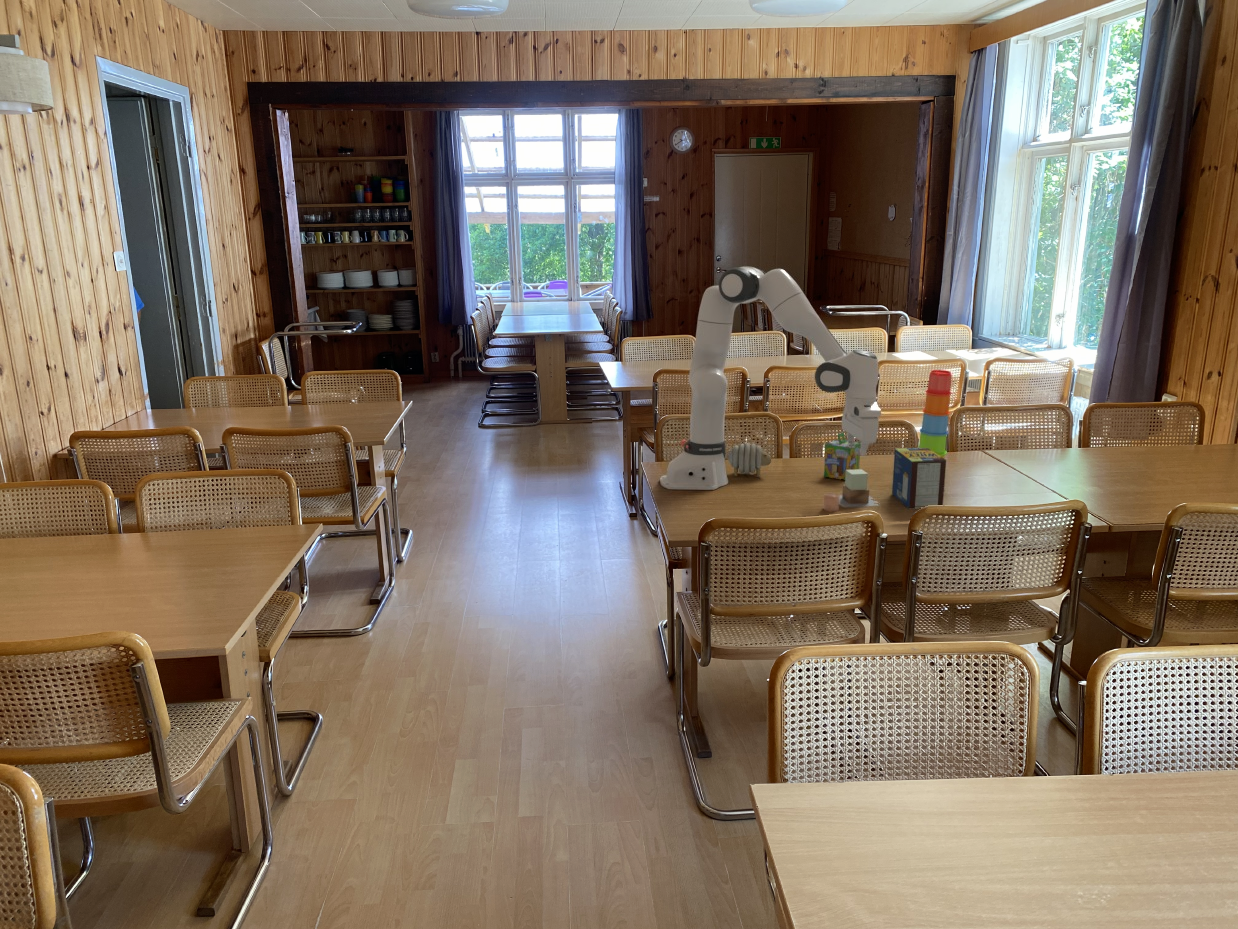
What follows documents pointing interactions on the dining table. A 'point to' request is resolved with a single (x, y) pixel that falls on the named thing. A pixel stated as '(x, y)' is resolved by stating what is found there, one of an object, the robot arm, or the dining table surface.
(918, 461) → the protein box
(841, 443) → the colorful toy box
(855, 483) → the sage block
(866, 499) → the walnut base block
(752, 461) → the toy sheep
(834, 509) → the terracotta cylinder
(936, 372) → the stacking cups
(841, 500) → the slate board
